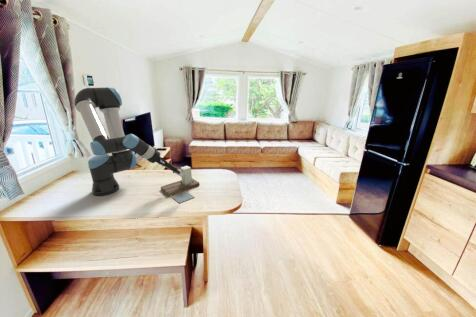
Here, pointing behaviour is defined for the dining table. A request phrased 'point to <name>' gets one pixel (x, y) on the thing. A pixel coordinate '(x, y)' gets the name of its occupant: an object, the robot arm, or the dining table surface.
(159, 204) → the dining table surface
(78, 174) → the dining table surface
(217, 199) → the dining table surface
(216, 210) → the dining table surface
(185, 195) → the mat
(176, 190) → the puzzle board
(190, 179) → the puzzle block
